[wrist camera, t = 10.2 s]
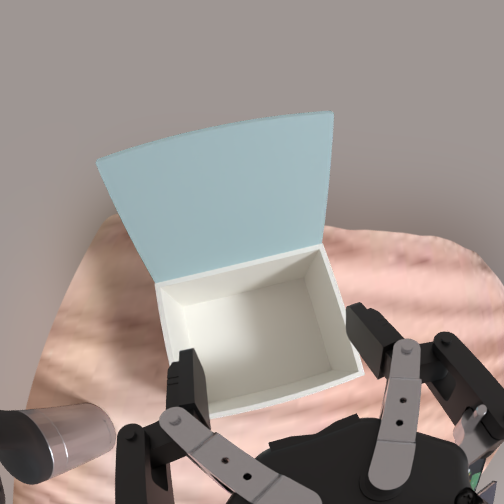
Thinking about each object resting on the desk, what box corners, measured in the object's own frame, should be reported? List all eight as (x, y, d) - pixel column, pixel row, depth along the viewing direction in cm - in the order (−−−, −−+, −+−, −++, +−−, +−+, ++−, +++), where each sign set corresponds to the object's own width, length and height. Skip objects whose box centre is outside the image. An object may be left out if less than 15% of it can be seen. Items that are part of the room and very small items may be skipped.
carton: (202, 407, 36) (184, 423, 25) (179, 304, 42) (154, 283, 31) (334, 372, 38) (364, 374, 27) (305, 274, 44) (322, 243, 33)
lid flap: (95, 162, 19) (97, 159, 20) (155, 283, 31) (155, 279, 31) (333, 113, 21) (330, 110, 21) (321, 243, 33) (319, 239, 33)
